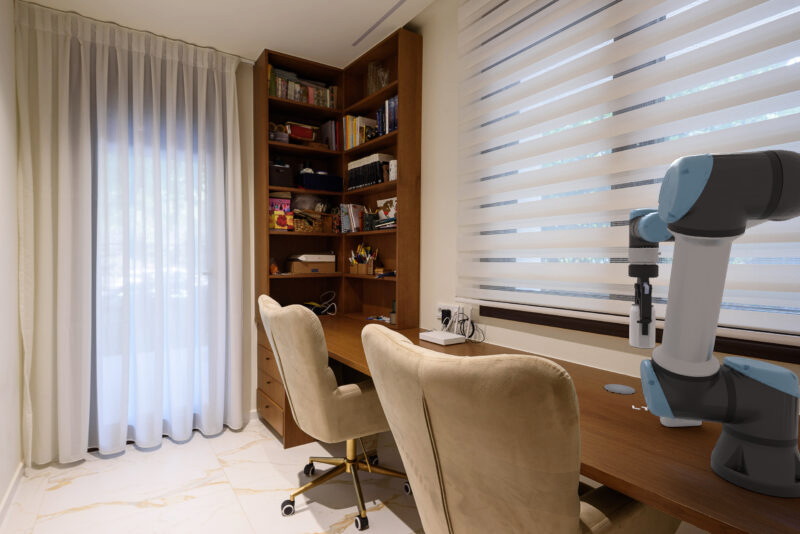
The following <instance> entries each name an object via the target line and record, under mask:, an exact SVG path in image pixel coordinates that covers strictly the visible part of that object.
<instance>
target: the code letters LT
mask: <svg viewBox="0 0 800 534" xmlns="http://www.w3.org/2000/svg"><path fill="white" fill-rule="evenodd" d="M631 407H632V409H634V410H639V411H641V408H642V409H643V408H644V410H645V411H648V407H647V406H641V408H638V407H635V405H631Z"/></svg>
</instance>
